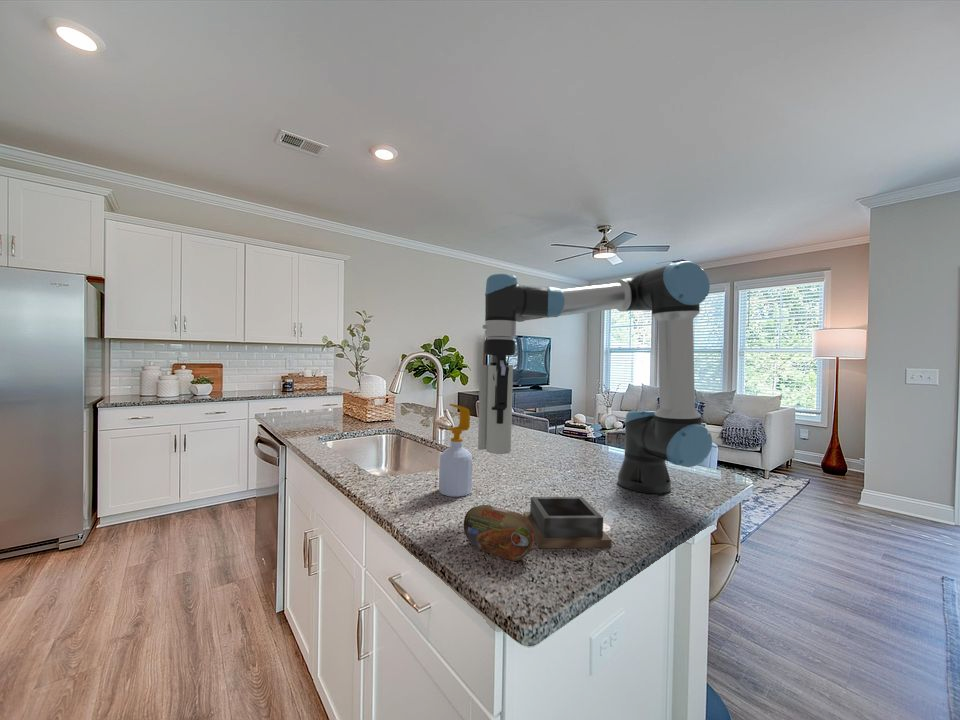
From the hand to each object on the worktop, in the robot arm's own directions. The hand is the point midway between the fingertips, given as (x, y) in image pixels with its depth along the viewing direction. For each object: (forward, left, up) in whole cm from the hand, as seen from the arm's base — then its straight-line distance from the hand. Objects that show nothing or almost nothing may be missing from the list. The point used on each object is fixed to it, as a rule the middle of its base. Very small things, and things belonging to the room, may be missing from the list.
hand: (497, 434), depth 98 cm
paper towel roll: (0, 0, -4) cm, 4 cm away
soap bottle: (+9, -15, -19) cm, 26 cm away
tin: (+2, +19, -19) cm, 28 cm away
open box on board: (-14, +11, -19) cm, 26 cm away
